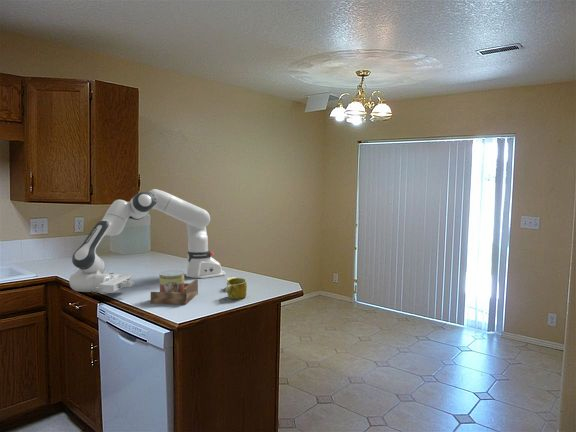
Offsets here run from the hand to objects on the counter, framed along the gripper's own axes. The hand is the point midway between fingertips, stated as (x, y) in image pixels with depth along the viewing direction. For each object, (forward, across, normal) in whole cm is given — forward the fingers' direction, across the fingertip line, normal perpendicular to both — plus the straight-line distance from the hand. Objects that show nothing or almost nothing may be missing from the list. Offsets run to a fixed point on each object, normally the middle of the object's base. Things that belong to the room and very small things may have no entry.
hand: (132, 284), depth 203 cm
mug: (+48, +4, +6) cm, 48 cm away
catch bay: (+20, 0, +6) cm, 21 cm away
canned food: (+19, 0, +6) cm, 20 cm away
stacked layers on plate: (+43, +20, +6) cm, 48 cm away
